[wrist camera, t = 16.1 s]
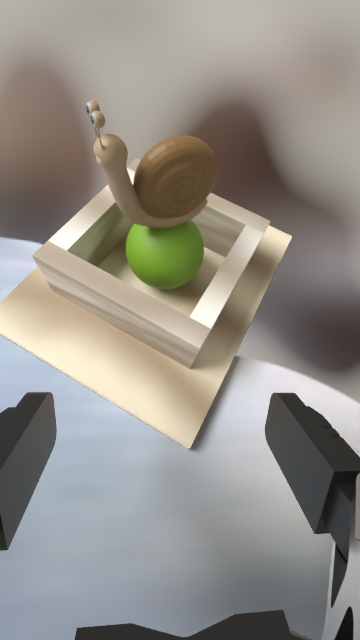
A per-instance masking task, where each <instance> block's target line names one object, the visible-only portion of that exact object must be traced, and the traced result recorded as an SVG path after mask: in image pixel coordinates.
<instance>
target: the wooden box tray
mask: <svg viewBox="0 0 360 640" xmlns="http://www.w3.org/2000/svg"><path fill="white" fill-rule="evenodd" d="M140 161H141V160H140V159H138V158H136V159H135V160H134V161H133V162H132V163H131V164H130V165H129V166H127V171H128V174H129V177H130V179H131V182H132V185H133V180H134V175H135V171H136V169H137V167H138V165H139V163H140ZM206 199H207V200H208V202H207V205H206V206H205V207H204V209H203V210H202V211H201V212H200V213H199V214H198V215H197V216H196V217H194V218H193V219H191V220H192V221H193V222H194V223H195V224H196V226H197V227H198V229H199V231H200V233H201V235H202V239H203V243H204V256H203V260H202V264H201V266H200V268H199V270H198V272H197V273H196V274H195V276H194V277H193V278H192V279H191V280H190V281H188V282H187V283H185V284H184V285H182V286H180V287H177V288H173V289H158V288H154V287H151V286H149V285H147V284H145V283H144V282H142V281H141V280H140V279H139V278H138V277H137V276H136V275H135V274H134V273H133V271H132V270H131V268H130V266H129V263H128V260H127V256H126V241H127V237H128V234H129V231H130V229H131V228H132V226H133V225H134V223H133V222H131V221H130V220H129V219H128V218H127V217H126V216H125V215H124V214H123V213H122V211H121V210H120V208H119V207H118V205H117V203H116V201H115V199H114V197H113V195H112V193H111V190H110V188H109V186H108V185H107V186H106V187H105V188H104V189H103V190H102V191H101V192H100V193H99V194H98V195H96V196H95V197H94V198H93V199H92V200H91V201H90V202H89V203H88V204H87V205H86V206H85V207H84V208H82V209H81V210H80V211H79V212H78V213H77V214H76V215H75V216H74V217H73V218H72V219H71V220H70V221H69V222H68V223H66V224H65V225H64V226H63V227H62V228H61V229H60V230H59V231H58V232H57V233H56V234H55V235H54V236H53V237H51V238H50V239H49V240H48V241H47V242H46V243H45V244H44V245H43V246H42V247H41V248H40V249H39V250H38V251H36V252H35V253H34V254H33V255H32V256H33V258H34V260H35V262H36V263H37V265H38V267H36V268H35V269H34V270H33V271H32V272H31V273H30V274H29V275H28V276H27V277H26V278H25V279H24V280H23V281H22V282H21V283H20V284H19V285H18V286H17V287H16V288H15V289H14V290H13V291H12V292H11V293H10V294H9V295H8V296H7V297H6V298H5V299H3V300H2V301H1V302H0V335H2V336H3V337H5V338H7V339H8V340H10V341H11V342H13V343H15V344H16V345H18V346H20V347H21V348H23V349H24V350H26V351H28V352H29V353H31V354H33V355H34V356H36V357H38V358H39V359H41V360H42V361H44V362H46V363H47V364H49V365H51V366H52V367H54V368H56V369H57V370H59V371H60V372H62V373H64V374H65V375H67V376H69V377H70V378H72V379H74V380H75V381H77V382H78V383H80V384H82V385H83V386H85V387H87V388H88V389H90V390H92V391H93V392H95V393H96V394H98V395H100V396H101V397H103V398H105V399H106V400H108V401H110V402H111V403H113V404H114V405H116V406H118V407H119V408H121V409H123V410H124V411H126V412H128V413H129V414H131V415H132V416H134V417H136V418H137V419H139V420H141V421H142V422H144V423H146V424H147V425H149V426H150V427H152V428H154V429H155V430H157V431H159V432H160V433H162V434H163V435H165V436H167V437H168V438H170V439H172V440H173V441H175V442H177V443H178V444H180V445H181V446H183V447H185V448H186V449H190V448H191V446H192V444H193V442H194V439H195V437H196V435H197V433H198V431H199V429H200V427H201V425H202V423H203V421H204V419H205V417H206V415H207V412H208V410H209V408H210V406H211V404H212V402H213V400H214V398H215V396H216V394H217V392H218V390H219V388H220V385H221V383H222V381H223V379H224V377H225V375H226V373H227V371H228V369H229V367H230V365H231V363H232V361H233V358H234V356H235V354H236V352H237V350H238V348H239V346H240V344H241V342H242V340H243V338H244V336H245V333H246V331H247V329H248V327H249V325H250V323H251V321H252V319H253V317H254V315H255V313H256V311H257V309H258V306H259V304H260V302H261V300H262V298H263V296H264V294H265V292H266V290H267V288H268V286H269V284H270V282H271V279H272V277H273V275H274V273H275V271H276V269H277V267H278V265H279V263H280V261H281V259H282V257H283V255H284V252H285V250H286V248H287V246H288V244H289V242H290V240H291V238H292V236H290V235H288V234H286V233H284V232H282V231H279V230H277V229H275V228H273V227H271V226H269V223H270V221H269V220H267V219H265V218H263V217H261V216H259V215H256V214H254V213H252V212H250V211H248V210H246V209H244V208H241V207H239V206H237V205H235V204H233V203H231V202H229V201H226V200H225V199H222V198H220V197H218V196H216V195H214V194H212V193H210V194H209V195H208V197H207V198H206Z"/></svg>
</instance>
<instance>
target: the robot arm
mask: <svg viewBox="0 0 360 640" xmlns="http://www.w3.org/2000/svg"><path fill="white" fill-rule="evenodd" d="M265 435H266V440H267V443H268V445H269V447H270V449H271V451H272V453H273V455H274V457H275V459H276V461H277V463H278V464H279V466H280V468H281V470H282V472H283V474H284V476H285V478H286V480H287V482H288V484H289V486H290V487H291V489H292V491H293V493H294V495H295V497H296V499H297V501H298V503H299V505H300V507H301V509H302V511H303V512H304V514H305V516H306V518H307V520H308V522H309V524H310V526H311V528H312V530H313V532H314V534H322V533H330V534H331V536H332V537H333V539H334V543H333V546H332V553H331V564H330V575H329V586H328V597H327V608H326V617H325V624H324V629H323V633H322V637H321V640H360V457H359V456H358V455H357V454H356V453H355V452H354V451H353V449H352V448H351V447H350V446H349V445H348V444H347V443H346V442H345V440H344V439H343V438H342V437H340V435H339V434H338V432H337V431H336V430H335V429H334V428H332V426H331V425H330V423H329V422H328V421H327V420H326V419H325V418H324V417H323V415H321V414H320V413H318V412H317V411H315V410H314V409H312V408H311V407H309V406H305V404H304V403H303V402H302V401H301V400H300V398H299V397H298V396H297V395H296V394H295V393H273V394H272V396H271V399H270V404H269V410H268V415H267V420H266V425H265ZM55 440H56V419H55V409H54V400H53V395H52V393H51V392H28V393H26V394H25V395H24V397H23V398H22V399H21V401H20V402H19V403H18V405H17V406H16V407H11V408H7V409H6V410H4V411H3V412H1V413H0V550H8V548H9V546H10V544H11V541H12V539H13V537H14V535H15V533H16V530H17V528H18V526H19V524H20V521H21V519H22V517H23V515H24V512H25V510H26V508H27V506H28V503H29V501H30V499H31V497H32V494H33V492H34V490H35V488H36V485H37V483H38V481H39V479H40V476H41V474H42V472H43V470H44V468H45V465H46V463H47V461H48V459H49V456H50V454H51V452H52V450H53V447H54V444H55ZM75 640H311V639H309V638H307V637H305V636H303V635H300V634H298V633H296V632H293V631H290V630H289V627H288V624H287V621H286V618H285V615H284V612H283V610H278V611H267V612H256V613H244V614H235V615H233V616H231V617H229V618H227V619H225V620H223V621H220V622H218V623H216V624H214V625H212V626H210V627H208V628H206V629H204V630H202V631H200V632H198V633H196V634H194V635H192V636H189V637H184V638H183V637H178V636H174V635H171V634H167V633H164V632H160V631H156V630H153V629H149V628H146V627H142V626H138V625H135V624H131V623H129V624H118V625H106V626H95V627H84V628H77V631H76V636H75Z"/></svg>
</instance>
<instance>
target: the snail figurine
mask: <svg viewBox="0 0 360 640" xmlns="http://www.w3.org/2000/svg"><path fill="white" fill-rule="evenodd" d="M86 108H87V113H88V115H89V116H90V117H91V121H92V124H93V126H94V129H95V133H96V136H97V141H96V143H95V145H94V153H95V154H96V159H97V162H98V164H99V165H100V166H101V168H102V169H103V171H104V174H105V177H106V181H107V183H108V186H109V188H110V190H111V193H112V195H113V197H114V199H115V201H116V203H117V205H118V207H119V208H120V210H121V211H122V213H123V214H124V215H125V216H126V217H127V218H128V219H129V220H130V221H131V222H133V223H134V225H133V226H132V228H131V229H130V231H129V234H128V237H127V241H126V256H127V260H128V263H129V266H130V268H131V270H132V271H133V273H134V274H135V275H136V276H137V277H138V278H139V279H140V280H141V281H142V282H144V283H145V284H147V285H149V286H151V287H154V288H158V289H173V288H177V287H180V286H182V285H184V284H185V283H187V282H188V281H190V280H191V279H192V278H193V277H194V276H195V274H196V273H197V272H198V270H199V268H200V266H201V264H202V260H203V256H204V243H203V239H202V235H201V233H200V231H199V229H198V227H197V226H196V224H195V223H194V222H193V221H192V220H191V219H193V218H194V217H196V216H197V215H198V214H199V213H200V212H201V211H202V210H203V209H204V207H205V206H206V205H207V202H208V200H207V199H206V198H207V197H208V195H209V194H210V192H211V190H212V189H213V186H214V184H215V181H216V176H217V163H216V159H215V156H214V154H213V152H212V150H211V148H210V147H209V146H208V145H207V144H206V143H204V142H203V141H201V140H200V139H198V138H196V137H192V136H175V137H170V138H168V139H165V140H163V141H161V142H159V143H158V144H157V145H155V146H153V147H152V148H151V149H150V150H149V151H148V152H147V153H146V154H145V155H144V157H143V158H142V159H141V161H140V163H139V165H138V167H137V169H136V171H135V175H134V180H133V185H132V182H131V179H130V177H129V174H128V171H127V167H126V161H127V155H128V153H127V148H126V145H125V143H124V142H123V141H122V140H121V139H120V138H119V137H118V136H115V135H113V134H105V135H102V136H101V137H100V133H99V128H102V127H103V126H104V124H105V118H104V116H103V114H102V113H101V112H100V108H99V105H98V104H97V103H96V102H94V101H89V102H88V103H87V106H86ZM96 128H97V131H98V134H97V131H96Z"/></svg>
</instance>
